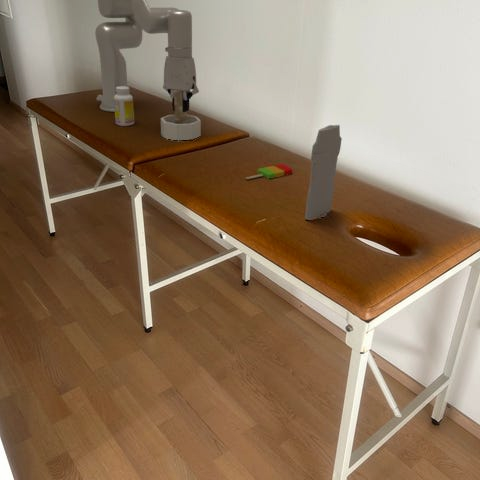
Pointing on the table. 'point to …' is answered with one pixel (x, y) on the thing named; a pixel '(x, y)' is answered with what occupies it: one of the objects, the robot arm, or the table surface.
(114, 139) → the table surface
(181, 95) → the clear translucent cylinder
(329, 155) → the gray upright slab
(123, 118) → the supplement bottle
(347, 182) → the table surface
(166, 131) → the grey hollow ring
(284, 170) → the popsicle
